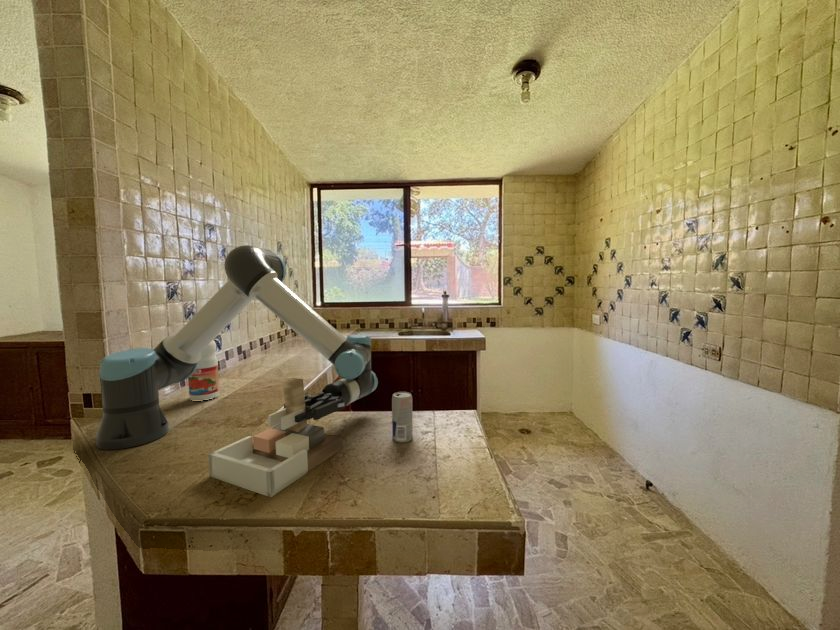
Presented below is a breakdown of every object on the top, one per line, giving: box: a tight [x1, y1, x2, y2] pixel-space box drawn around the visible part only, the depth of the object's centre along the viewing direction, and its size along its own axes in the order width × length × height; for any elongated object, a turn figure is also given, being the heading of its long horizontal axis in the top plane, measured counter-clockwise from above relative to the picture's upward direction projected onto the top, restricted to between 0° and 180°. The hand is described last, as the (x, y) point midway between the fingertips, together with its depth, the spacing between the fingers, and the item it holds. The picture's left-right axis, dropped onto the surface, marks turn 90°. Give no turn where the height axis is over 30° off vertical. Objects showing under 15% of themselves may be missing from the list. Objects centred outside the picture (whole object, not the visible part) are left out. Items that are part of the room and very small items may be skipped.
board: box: [252, 433, 343, 473], centre depth 84 cm, size 18×12×3 cm, turn 65°
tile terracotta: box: [252, 427, 286, 453], centre depth 81 cm, size 5×5×3 cm
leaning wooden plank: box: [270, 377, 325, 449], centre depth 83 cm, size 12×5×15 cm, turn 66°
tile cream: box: [276, 433, 309, 458], centre depth 78 cm, size 5×5×3 cm
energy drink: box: [391, 391, 414, 444], centre depth 92 cm, size 5×5×12 cm
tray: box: [208, 435, 309, 498], centre depth 74 cm, size 18×10×5 cm, turn 65°
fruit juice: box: [187, 339, 220, 401], centre depth 127 cm, size 9×9×28 cm
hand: (275, 422), depth 78 cm, fingers closed on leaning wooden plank, 3 cm apart
